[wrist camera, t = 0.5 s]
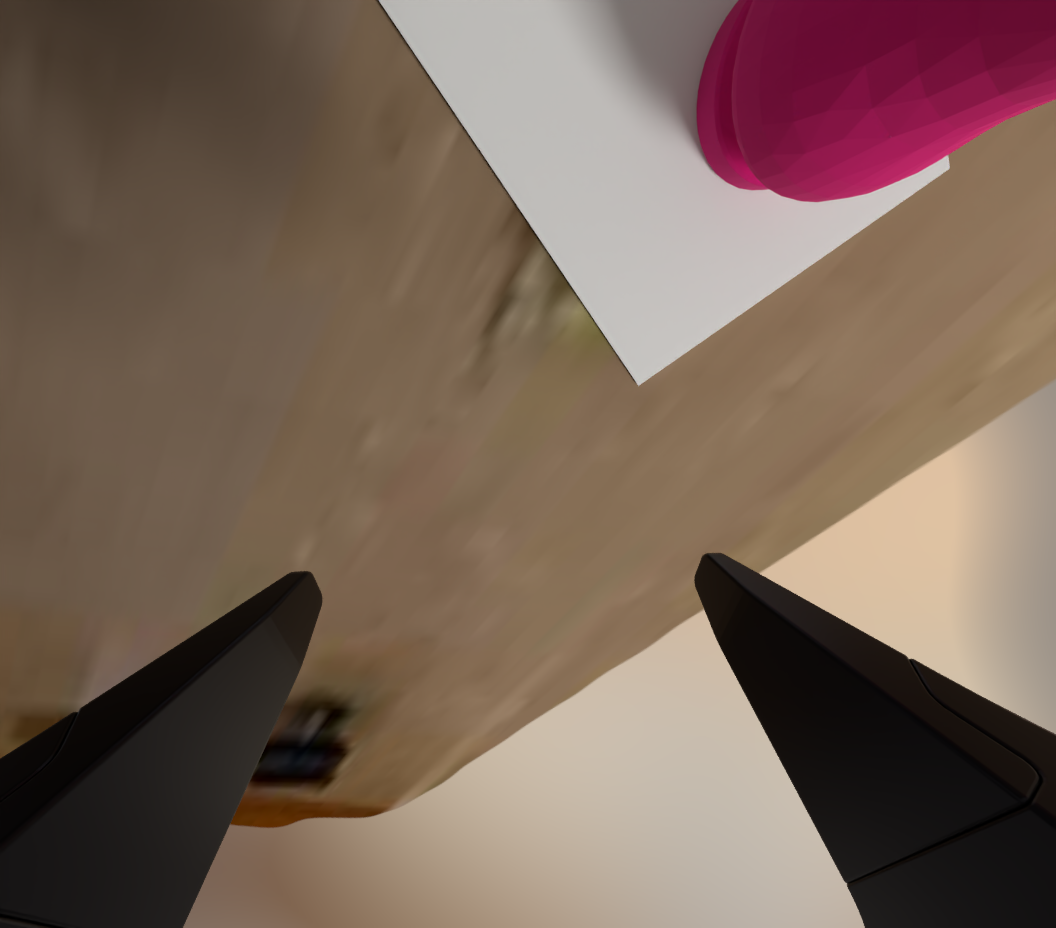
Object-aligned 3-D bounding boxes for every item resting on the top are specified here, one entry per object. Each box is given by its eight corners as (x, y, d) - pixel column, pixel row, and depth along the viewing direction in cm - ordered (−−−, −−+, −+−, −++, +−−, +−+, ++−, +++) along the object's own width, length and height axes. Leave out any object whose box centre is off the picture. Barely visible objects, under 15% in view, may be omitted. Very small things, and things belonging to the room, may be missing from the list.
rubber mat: (315, -93, 12) (313, -97, 12) (806, -890, 7) (814, -915, 7) (637, 384, 21) (638, 385, 21) (945, 169, 16) (949, 168, 16)
